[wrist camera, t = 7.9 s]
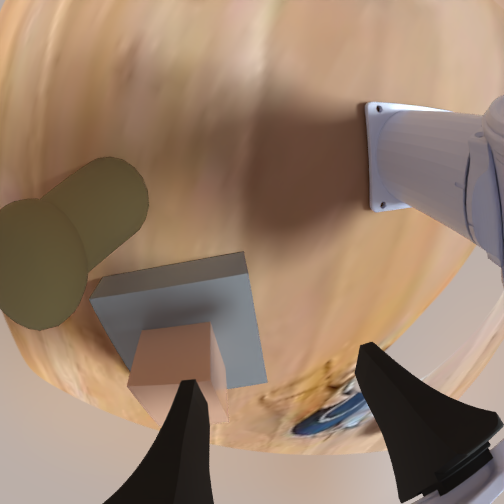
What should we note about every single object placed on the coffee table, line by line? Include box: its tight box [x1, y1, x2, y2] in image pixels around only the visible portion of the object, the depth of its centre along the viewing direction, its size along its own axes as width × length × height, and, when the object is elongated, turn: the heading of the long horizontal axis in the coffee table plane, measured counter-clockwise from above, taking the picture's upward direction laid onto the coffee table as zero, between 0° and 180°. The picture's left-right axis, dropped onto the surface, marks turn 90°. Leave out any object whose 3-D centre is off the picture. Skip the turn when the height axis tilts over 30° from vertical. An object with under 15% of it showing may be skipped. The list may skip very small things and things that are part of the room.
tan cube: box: [127, 322, 229, 426], centre depth 16 cm, size 5×5×5 cm
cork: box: [0, 157, 149, 331], centre depth 11 cm, size 6×6×11 cm
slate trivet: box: [89, 252, 267, 389], centre depth 20 cm, size 11×11×3 cm
